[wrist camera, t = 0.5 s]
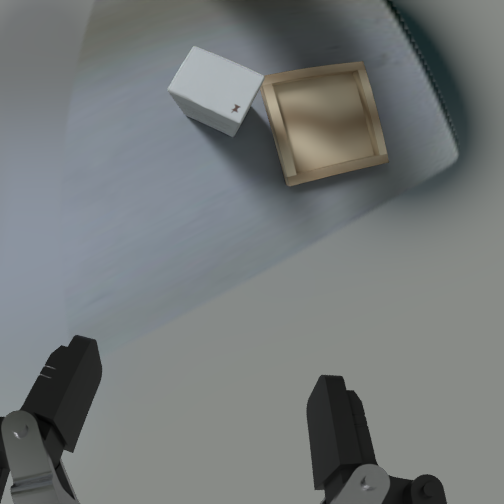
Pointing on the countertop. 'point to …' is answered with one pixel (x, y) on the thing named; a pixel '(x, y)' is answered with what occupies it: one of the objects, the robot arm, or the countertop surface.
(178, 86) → the skincare box
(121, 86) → the countertop surface
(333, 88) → the holder
